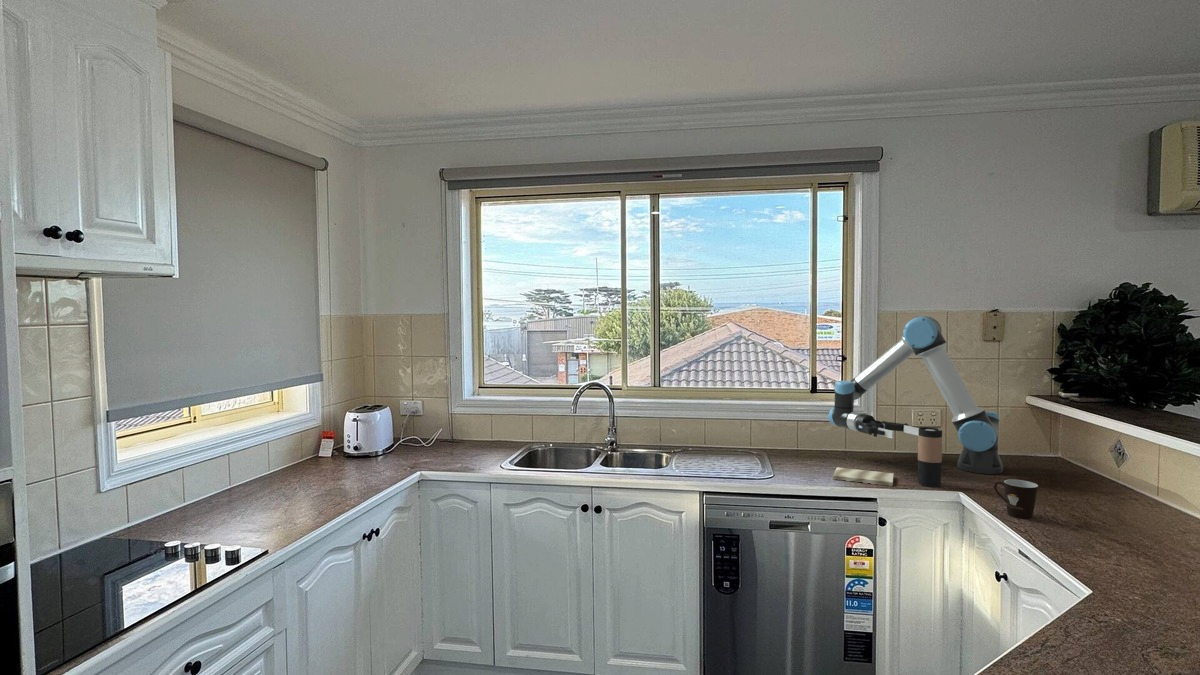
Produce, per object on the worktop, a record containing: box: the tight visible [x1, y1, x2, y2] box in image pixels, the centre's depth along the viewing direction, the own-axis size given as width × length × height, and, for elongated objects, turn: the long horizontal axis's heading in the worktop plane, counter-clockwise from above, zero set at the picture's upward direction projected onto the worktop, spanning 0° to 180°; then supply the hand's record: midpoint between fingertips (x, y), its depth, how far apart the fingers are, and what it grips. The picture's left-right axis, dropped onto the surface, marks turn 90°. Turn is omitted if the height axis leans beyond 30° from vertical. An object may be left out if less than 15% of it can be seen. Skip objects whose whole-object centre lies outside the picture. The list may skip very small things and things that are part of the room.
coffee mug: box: [993, 479, 1039, 520], centre depth 189 cm, size 12×9×10 cm
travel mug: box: [917, 426, 943, 488], centre depth 221 cm, size 8×8×20 cm
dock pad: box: [832, 467, 894, 487], centre depth 229 cm, size 20×13×2 cm, turn 63°
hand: (906, 433), depth 229 cm, fingers open, 13 cm apart
